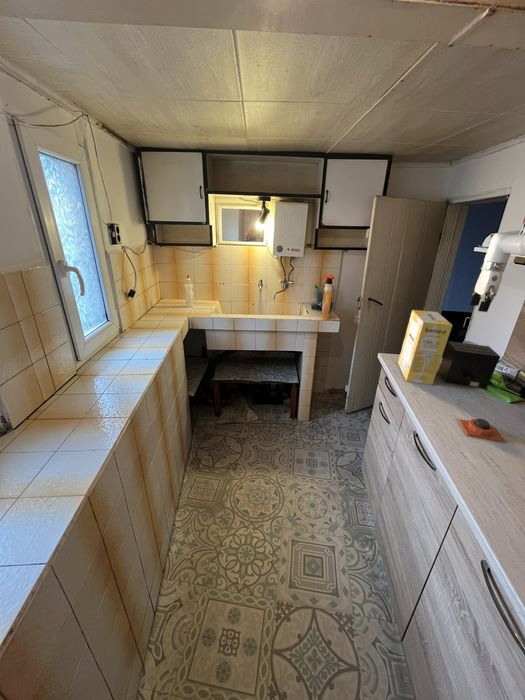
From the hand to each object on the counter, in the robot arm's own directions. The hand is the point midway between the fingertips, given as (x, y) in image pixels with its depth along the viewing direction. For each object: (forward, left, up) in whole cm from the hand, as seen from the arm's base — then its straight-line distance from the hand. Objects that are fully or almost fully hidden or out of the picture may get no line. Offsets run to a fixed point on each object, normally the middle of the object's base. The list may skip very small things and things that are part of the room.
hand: (477, 308), depth 119 cm
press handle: (-1, +15, -28) cm, 32 cm away
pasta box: (+19, +7, -32) cm, 38 cm away
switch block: (+5, +44, -32) cm, 54 cm away
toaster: (-1, +6, -32) cm, 33 cm away
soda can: (-6, -9, -32) cm, 34 cm away
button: (+5, +44, -29) cm, 53 cm away
